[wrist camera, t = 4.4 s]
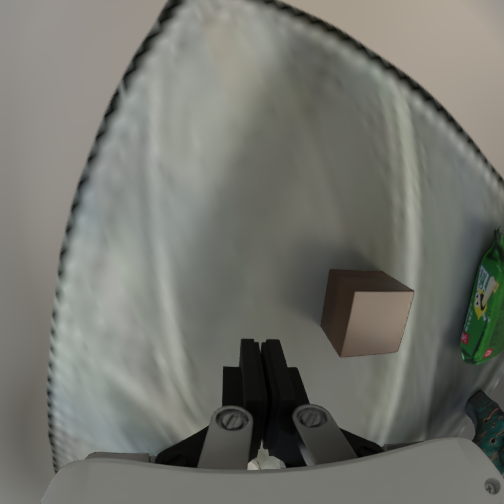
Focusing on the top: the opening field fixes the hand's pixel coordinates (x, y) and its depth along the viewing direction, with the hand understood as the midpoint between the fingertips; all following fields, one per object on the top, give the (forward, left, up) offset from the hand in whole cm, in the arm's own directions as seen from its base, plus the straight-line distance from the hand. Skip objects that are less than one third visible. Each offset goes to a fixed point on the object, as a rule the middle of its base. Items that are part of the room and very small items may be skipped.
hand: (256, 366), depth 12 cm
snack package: (+27, -1, -10) cm, 29 cm away
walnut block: (+9, -1, -10) cm, 13 cm away
